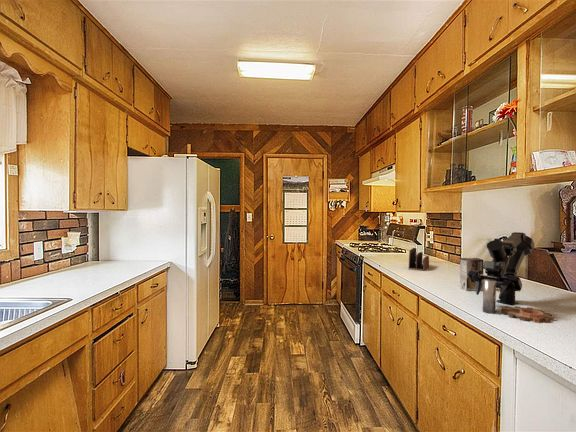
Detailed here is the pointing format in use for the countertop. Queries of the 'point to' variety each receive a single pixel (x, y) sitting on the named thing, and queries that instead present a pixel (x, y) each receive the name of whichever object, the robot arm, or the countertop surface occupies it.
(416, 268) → the letter holder
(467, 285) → the coffee box
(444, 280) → the countertop surface
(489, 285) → the drive pin
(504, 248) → the robot arm
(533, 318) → the sprocket
